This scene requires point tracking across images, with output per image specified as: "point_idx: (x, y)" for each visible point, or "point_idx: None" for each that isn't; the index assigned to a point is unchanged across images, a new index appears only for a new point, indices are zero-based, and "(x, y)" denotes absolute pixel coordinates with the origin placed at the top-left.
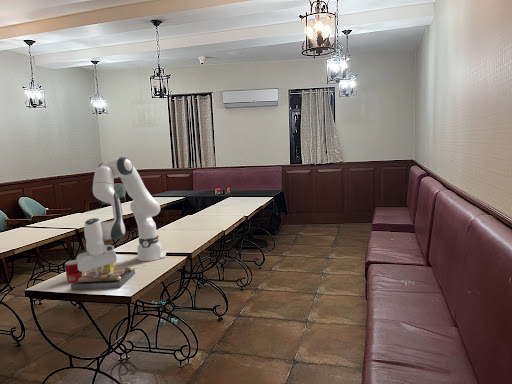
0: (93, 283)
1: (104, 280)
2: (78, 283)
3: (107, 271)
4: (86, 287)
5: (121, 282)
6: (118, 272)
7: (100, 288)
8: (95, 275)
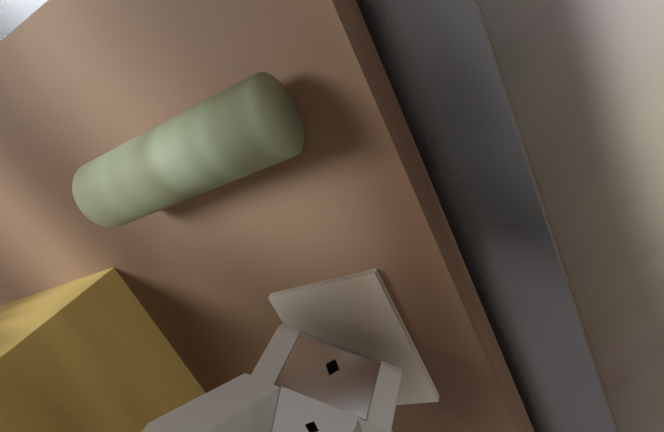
0: (549, 289)
1: (407, 133)
2: None
3: (134, 331)
4: (589, 347)
5: None
6: (21, 115)
7: (516, 123)
8: None
